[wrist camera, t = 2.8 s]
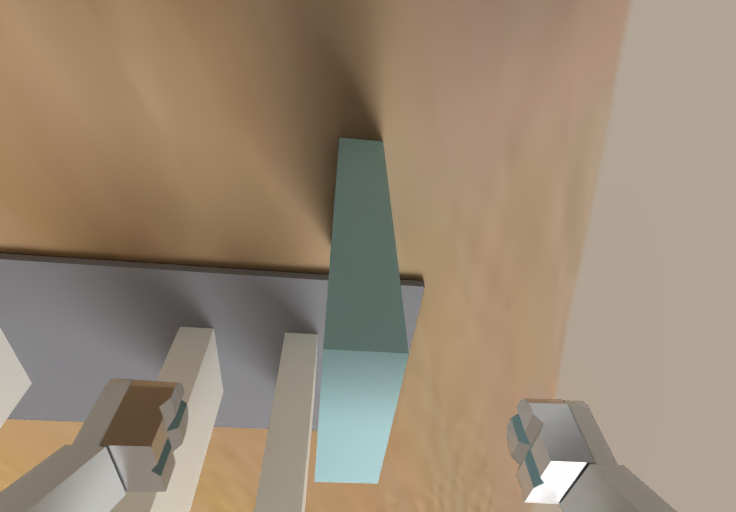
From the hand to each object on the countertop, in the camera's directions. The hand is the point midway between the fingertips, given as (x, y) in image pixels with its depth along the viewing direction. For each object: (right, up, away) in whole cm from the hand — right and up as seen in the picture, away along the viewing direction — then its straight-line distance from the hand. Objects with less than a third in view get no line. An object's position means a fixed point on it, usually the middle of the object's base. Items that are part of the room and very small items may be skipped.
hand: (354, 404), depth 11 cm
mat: (-13, -1, +12) cm, 18 cm away
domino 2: (-3, -2, +12) cm, 13 cm away
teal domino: (0, +6, +7) cm, 9 cm away
